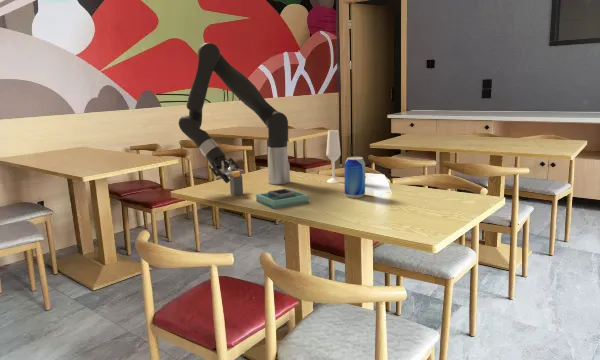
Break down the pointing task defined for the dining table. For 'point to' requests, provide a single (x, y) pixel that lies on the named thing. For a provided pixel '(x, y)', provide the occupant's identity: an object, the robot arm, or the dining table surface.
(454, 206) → the dining table surface
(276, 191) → the inlet
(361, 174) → the beer can
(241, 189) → the grey square peg
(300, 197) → the tray
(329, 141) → the champagne flute
